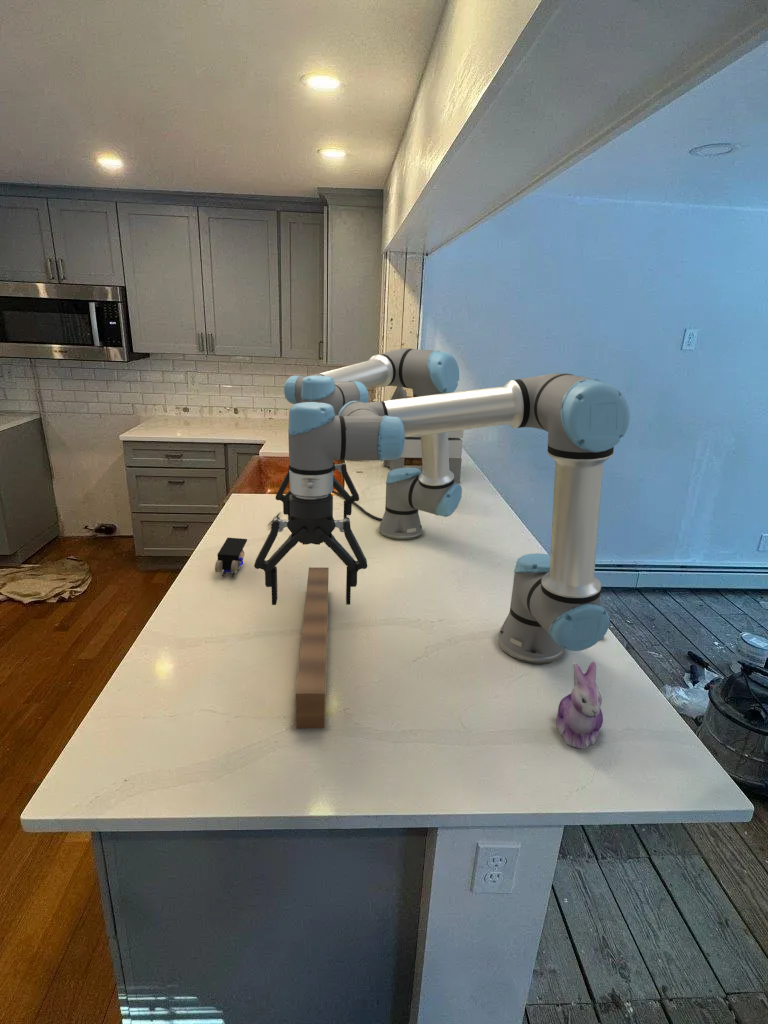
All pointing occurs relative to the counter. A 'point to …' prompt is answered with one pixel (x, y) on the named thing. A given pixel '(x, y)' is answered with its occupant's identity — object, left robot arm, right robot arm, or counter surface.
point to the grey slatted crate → (414, 451)
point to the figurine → (581, 709)
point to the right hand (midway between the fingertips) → (311, 601)
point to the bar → (313, 652)
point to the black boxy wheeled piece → (230, 556)
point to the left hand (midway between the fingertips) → (317, 526)
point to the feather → (272, 520)
